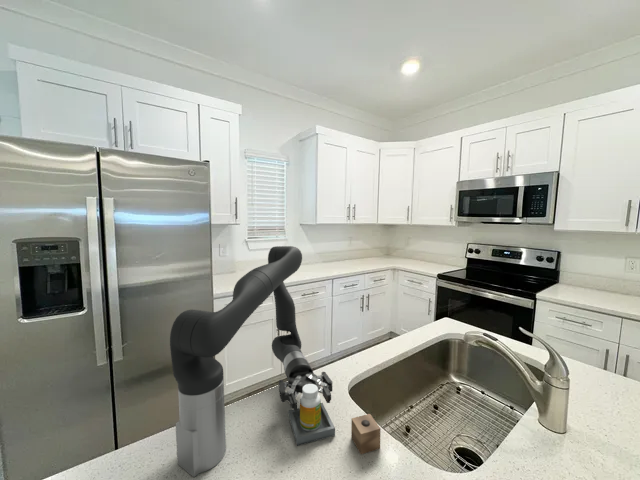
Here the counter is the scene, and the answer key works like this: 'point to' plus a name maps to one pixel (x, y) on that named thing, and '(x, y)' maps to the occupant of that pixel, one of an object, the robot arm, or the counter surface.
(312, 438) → the tray
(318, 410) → the supplement bottle
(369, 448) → the wooden block with knob
